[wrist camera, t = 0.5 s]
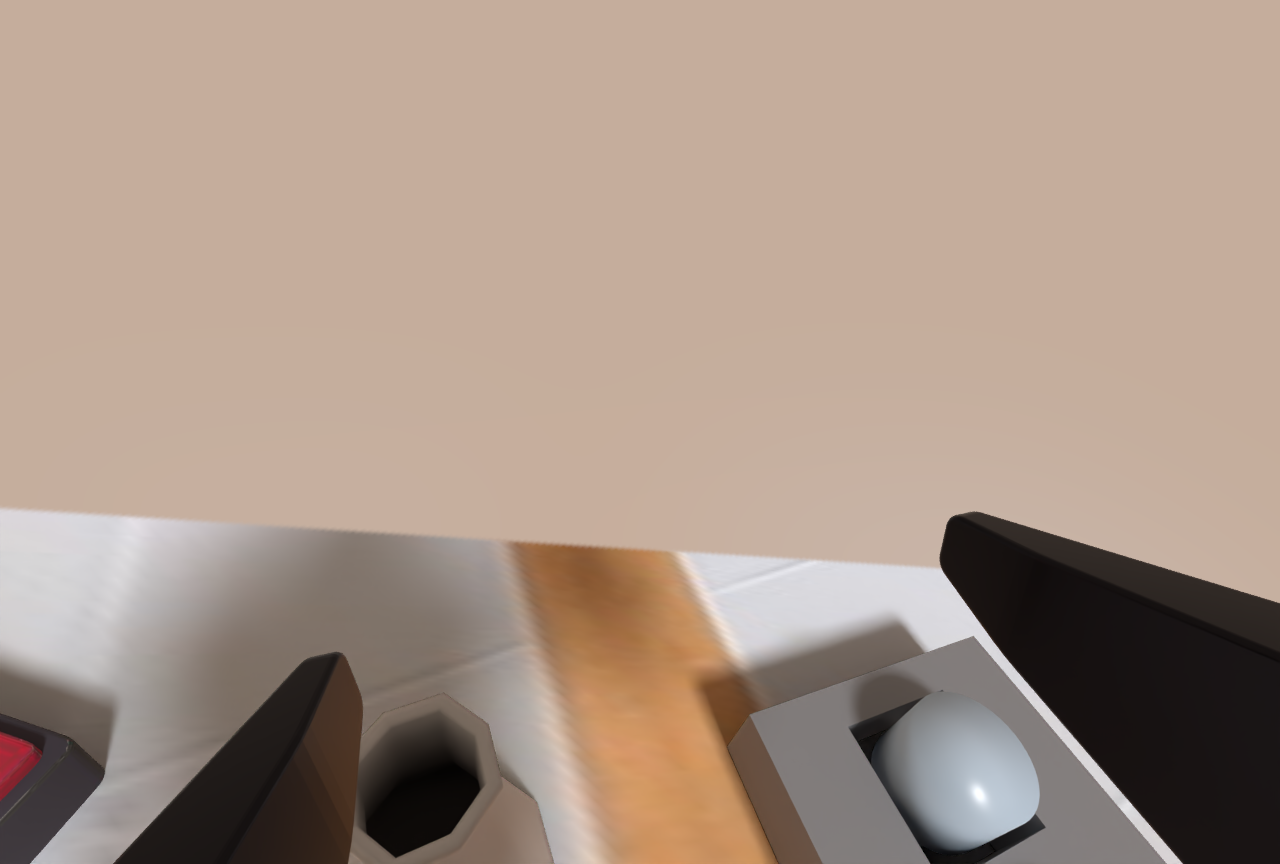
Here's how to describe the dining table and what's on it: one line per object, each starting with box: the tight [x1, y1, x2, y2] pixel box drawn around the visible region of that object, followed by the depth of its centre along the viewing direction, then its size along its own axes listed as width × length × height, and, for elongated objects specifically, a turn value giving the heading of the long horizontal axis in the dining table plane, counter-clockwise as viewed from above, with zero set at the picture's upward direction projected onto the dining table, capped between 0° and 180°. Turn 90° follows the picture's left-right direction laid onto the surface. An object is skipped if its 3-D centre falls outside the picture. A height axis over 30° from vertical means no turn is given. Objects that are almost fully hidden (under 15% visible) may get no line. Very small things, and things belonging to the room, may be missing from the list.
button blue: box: [871, 691, 1040, 856], centre depth 20 cm, size 4×4×3 cm
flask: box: [348, 693, 554, 864], centre depth 14 cm, size 7×7×10 cm
